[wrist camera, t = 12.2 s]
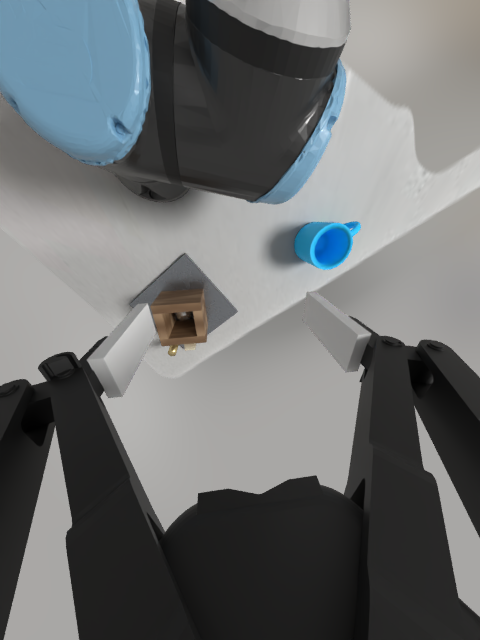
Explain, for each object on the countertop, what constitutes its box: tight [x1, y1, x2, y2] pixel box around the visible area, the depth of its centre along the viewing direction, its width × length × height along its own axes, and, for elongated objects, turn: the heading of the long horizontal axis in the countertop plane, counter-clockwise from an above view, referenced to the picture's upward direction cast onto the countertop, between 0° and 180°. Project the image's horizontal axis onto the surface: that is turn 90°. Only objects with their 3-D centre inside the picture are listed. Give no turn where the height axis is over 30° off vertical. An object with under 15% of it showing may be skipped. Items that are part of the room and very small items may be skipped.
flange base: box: [129, 253, 238, 349], centre depth 44 cm, size 18×18×4 cm
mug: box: [294, 222, 361, 270], centre depth 38 cm, size 12×8×8 cm
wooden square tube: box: [150, 289, 208, 351], centre depth 43 cm, size 14×10×8 cm, turn 2°
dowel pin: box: [168, 345, 178, 356], centre depth 46 cm, size 2×2×6 cm
